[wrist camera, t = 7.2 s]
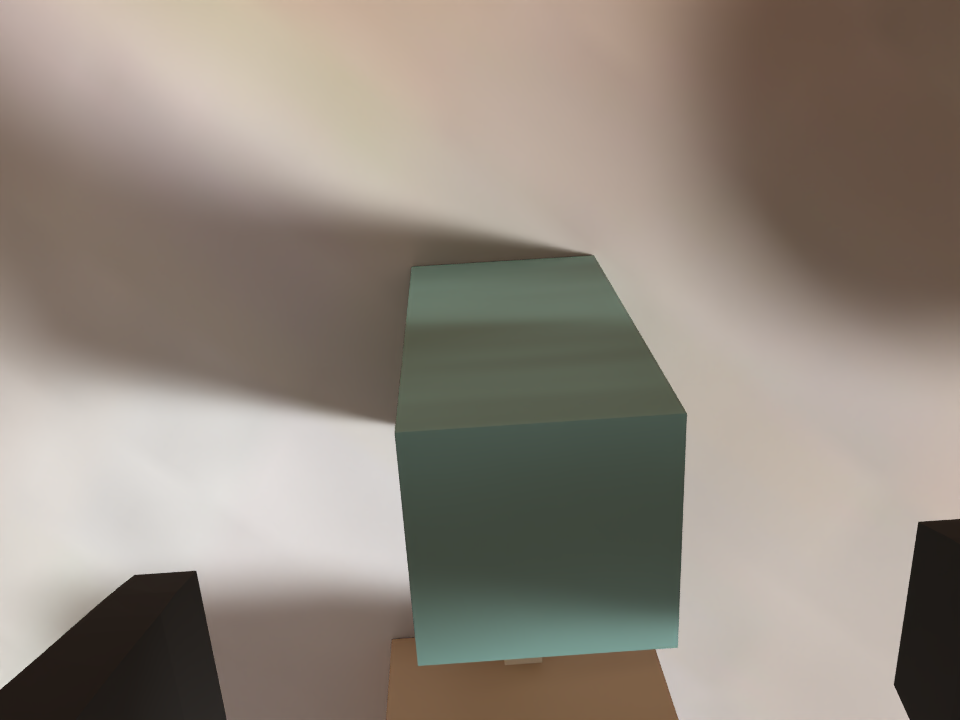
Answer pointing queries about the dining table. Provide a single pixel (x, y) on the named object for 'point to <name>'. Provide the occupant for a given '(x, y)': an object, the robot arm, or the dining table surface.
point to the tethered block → (535, 499)
